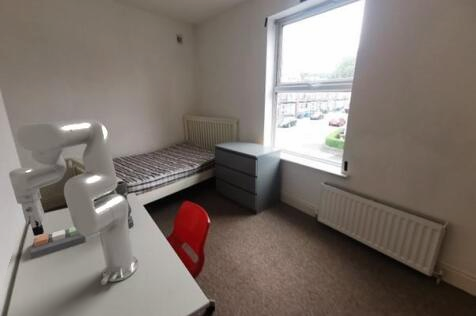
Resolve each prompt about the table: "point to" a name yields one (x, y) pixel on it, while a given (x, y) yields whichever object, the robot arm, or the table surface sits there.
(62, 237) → the cream key
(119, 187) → the candle holder
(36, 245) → the terracotta key
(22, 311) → the table surface
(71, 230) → the sage key
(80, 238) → the keypad
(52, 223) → the table surface
